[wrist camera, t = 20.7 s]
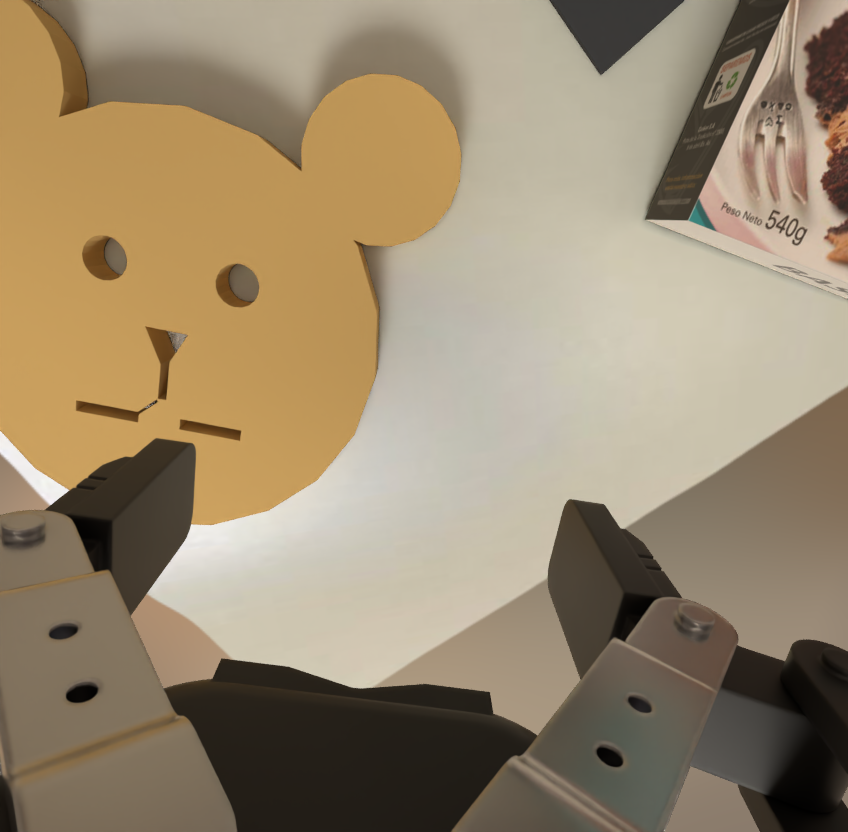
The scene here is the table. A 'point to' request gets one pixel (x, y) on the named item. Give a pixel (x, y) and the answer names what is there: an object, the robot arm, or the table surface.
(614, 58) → the placemat
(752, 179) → the cake mix box
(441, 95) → the table surface
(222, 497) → the decorative plaque
